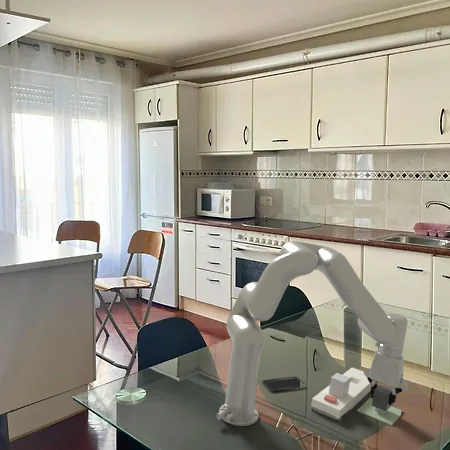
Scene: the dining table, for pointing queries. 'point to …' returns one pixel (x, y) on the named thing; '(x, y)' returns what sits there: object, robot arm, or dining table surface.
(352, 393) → the power strip
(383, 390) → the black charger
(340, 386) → the block
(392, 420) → the green mat
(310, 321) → the dining table surface
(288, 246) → the robot arm
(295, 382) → the phone
